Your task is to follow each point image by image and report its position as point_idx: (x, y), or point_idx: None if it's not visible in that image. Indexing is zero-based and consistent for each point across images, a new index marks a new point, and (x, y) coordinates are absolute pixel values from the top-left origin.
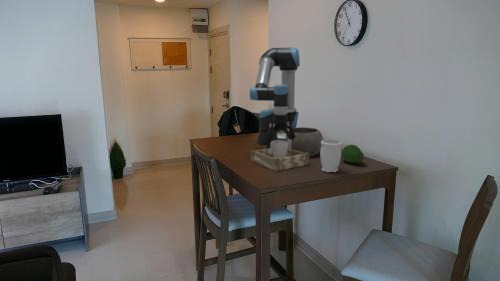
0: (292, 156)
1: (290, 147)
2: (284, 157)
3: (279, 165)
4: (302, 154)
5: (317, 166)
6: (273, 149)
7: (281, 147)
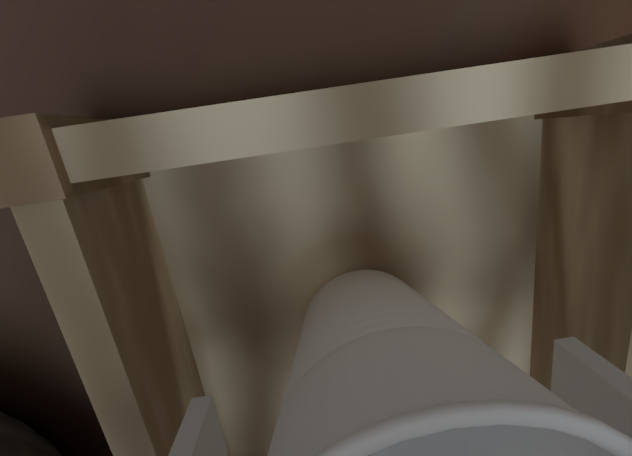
0: (350, 112)
1: (193, 447)
2: (510, 112)
3: (579, 50)
4: (109, 157)
5: (16, 19)
6: (533, 430)
7: (503, 368)
